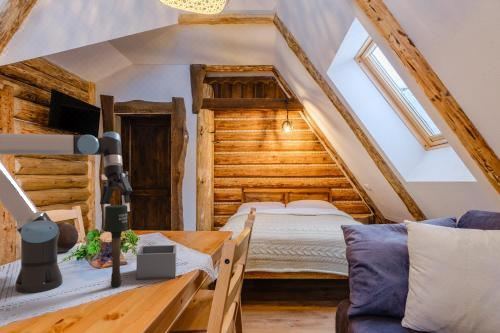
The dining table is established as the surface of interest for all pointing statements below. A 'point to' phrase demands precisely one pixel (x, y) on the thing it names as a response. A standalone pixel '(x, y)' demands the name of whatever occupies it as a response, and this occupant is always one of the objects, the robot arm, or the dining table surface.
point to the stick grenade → (116, 237)
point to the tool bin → (156, 262)
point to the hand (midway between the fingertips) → (116, 215)
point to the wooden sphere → (66, 237)
